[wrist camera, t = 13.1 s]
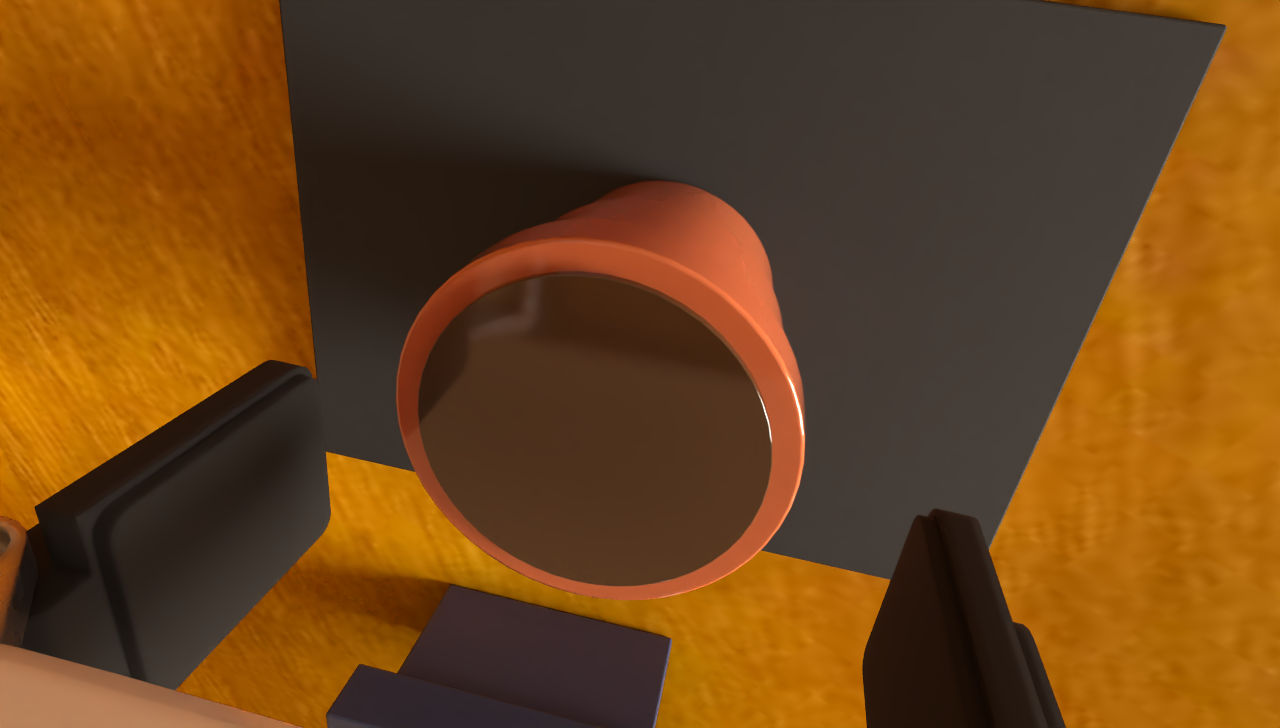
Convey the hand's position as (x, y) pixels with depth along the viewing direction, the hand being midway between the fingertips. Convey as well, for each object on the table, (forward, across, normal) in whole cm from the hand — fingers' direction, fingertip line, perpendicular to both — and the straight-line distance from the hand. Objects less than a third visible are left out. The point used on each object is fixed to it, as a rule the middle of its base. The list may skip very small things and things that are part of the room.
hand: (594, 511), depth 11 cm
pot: (+8, +1, 0) cm, 8 cm away
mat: (+9, +1, 0) cm, 9 cm away
